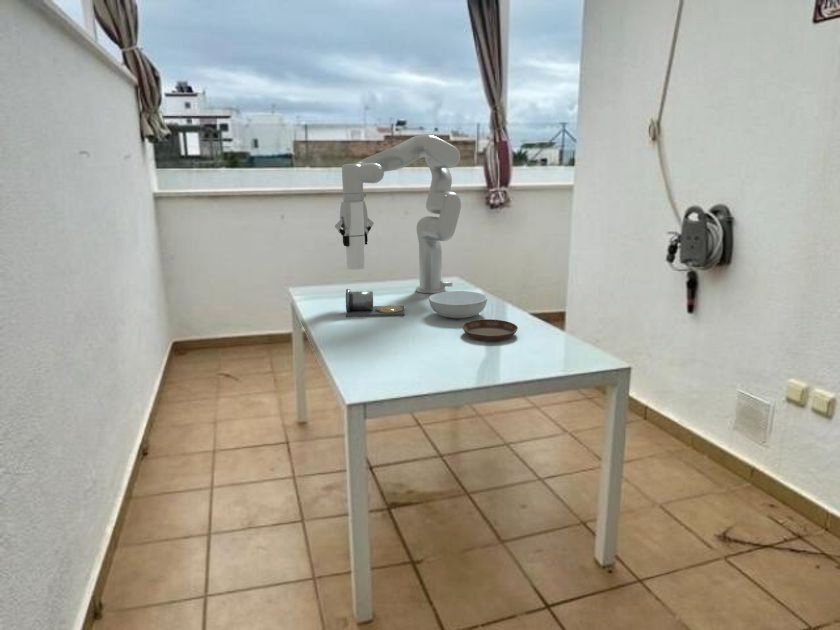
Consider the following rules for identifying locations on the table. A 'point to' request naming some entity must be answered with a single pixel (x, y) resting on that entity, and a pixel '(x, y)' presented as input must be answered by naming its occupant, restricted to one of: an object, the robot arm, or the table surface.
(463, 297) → the serving bowl
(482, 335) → the plant saucer
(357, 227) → the cylindrical container
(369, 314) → the pipe fitting board
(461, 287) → the table surface
